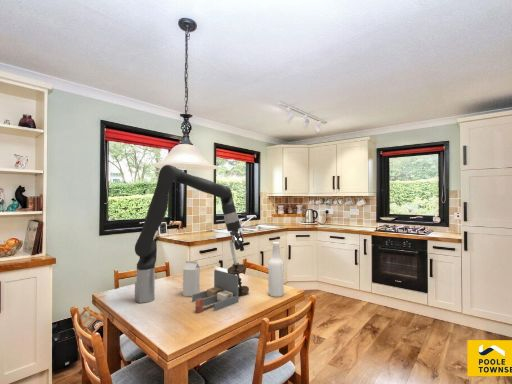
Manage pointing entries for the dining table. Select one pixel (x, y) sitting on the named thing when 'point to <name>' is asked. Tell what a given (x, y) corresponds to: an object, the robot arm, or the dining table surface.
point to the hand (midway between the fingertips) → (240, 250)
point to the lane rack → (224, 283)
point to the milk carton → (191, 278)
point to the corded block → (220, 297)
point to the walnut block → (213, 291)
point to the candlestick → (237, 271)
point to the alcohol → (276, 273)
